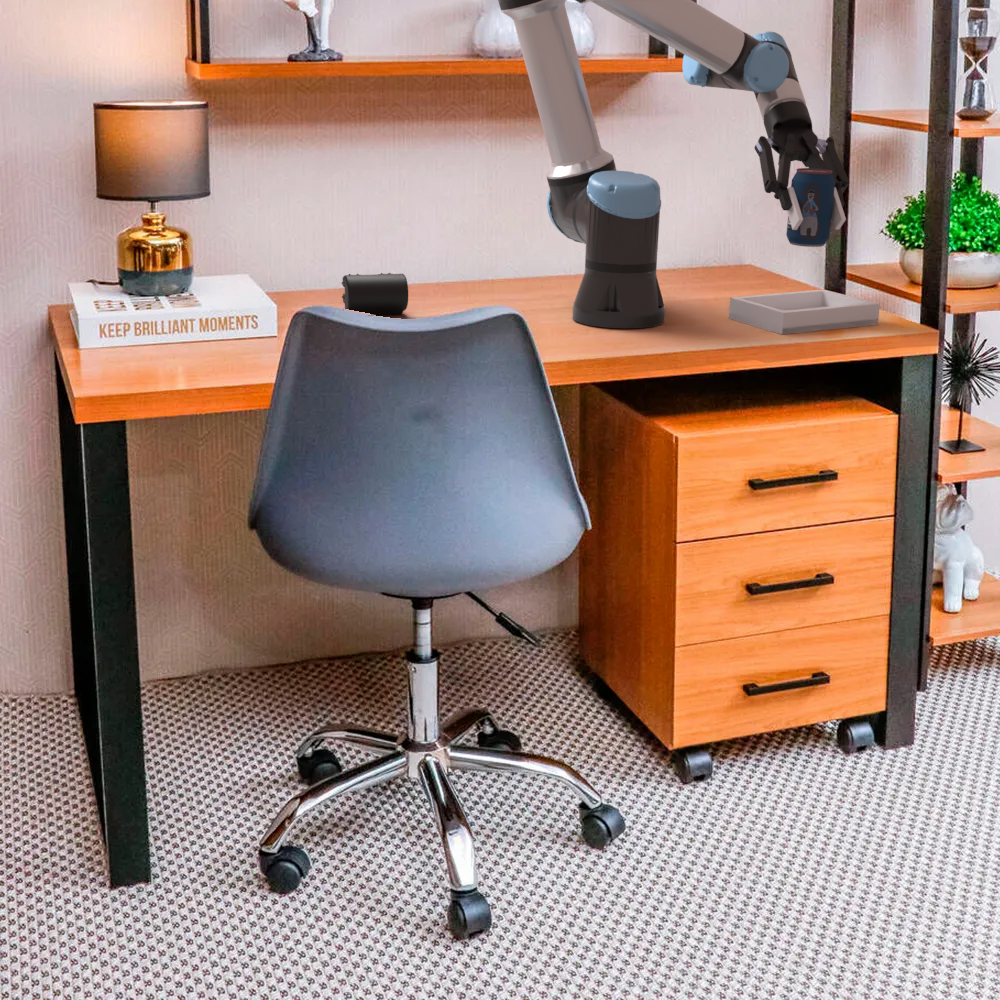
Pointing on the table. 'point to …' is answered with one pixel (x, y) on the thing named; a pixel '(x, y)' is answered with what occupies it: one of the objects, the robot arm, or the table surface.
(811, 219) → the soda can
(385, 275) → the end cap
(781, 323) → the tray
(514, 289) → the table surface
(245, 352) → the table surface
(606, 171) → the robot arm
